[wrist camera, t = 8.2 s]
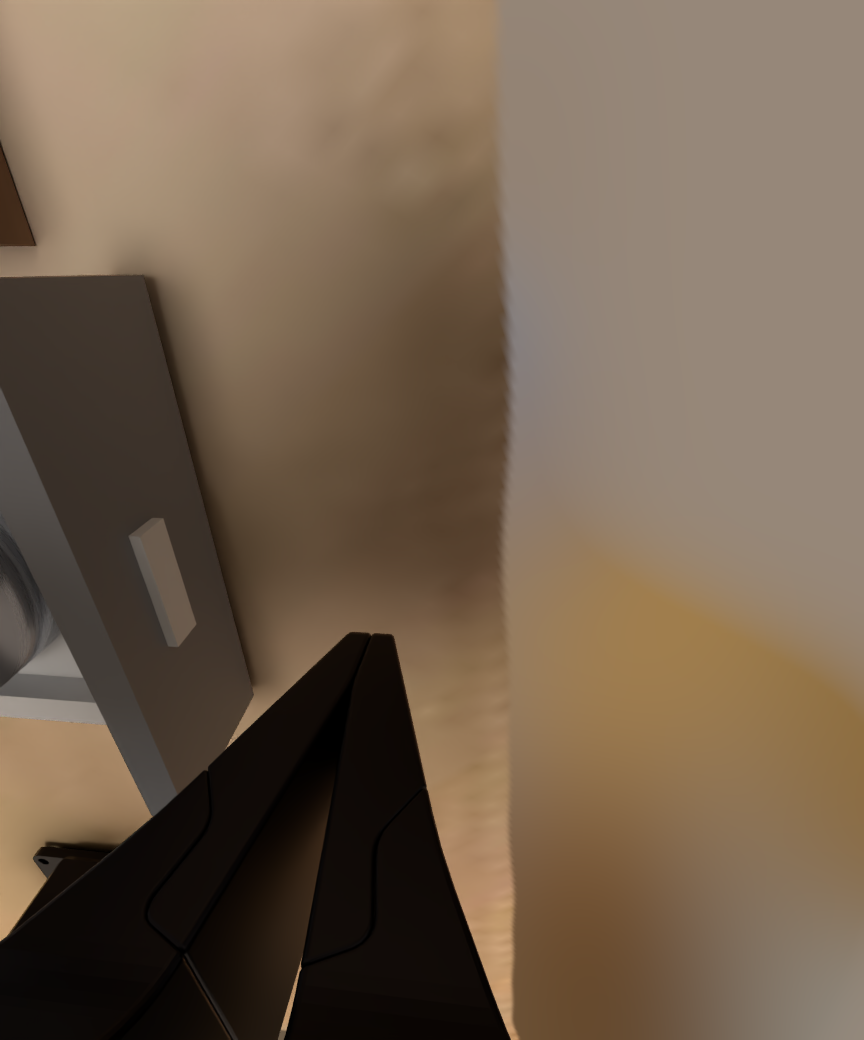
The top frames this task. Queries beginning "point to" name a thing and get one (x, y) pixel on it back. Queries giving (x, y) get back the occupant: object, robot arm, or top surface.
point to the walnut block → (11, 212)
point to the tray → (113, 531)
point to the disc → (20, 610)
